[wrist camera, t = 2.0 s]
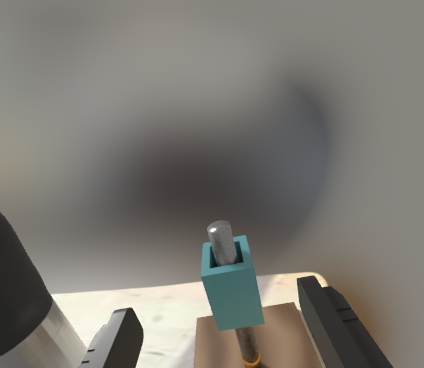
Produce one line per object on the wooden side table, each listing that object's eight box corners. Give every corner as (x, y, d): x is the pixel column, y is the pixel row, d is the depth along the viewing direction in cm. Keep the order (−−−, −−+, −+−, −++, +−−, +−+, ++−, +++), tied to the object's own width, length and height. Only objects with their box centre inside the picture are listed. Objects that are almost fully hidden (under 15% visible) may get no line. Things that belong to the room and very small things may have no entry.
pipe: (246, 381, 28) (206, 237, 20) (243, 359, 31) (206, 222, 23) (265, 378, 28) (232, 231, 20) (261, 356, 31) (230, 218, 22)
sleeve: (218, 331, 23) (201, 276, 20) (217, 291, 28) (202, 243, 25) (265, 323, 23) (253, 267, 20) (255, 285, 27) (245, 235, 25)
